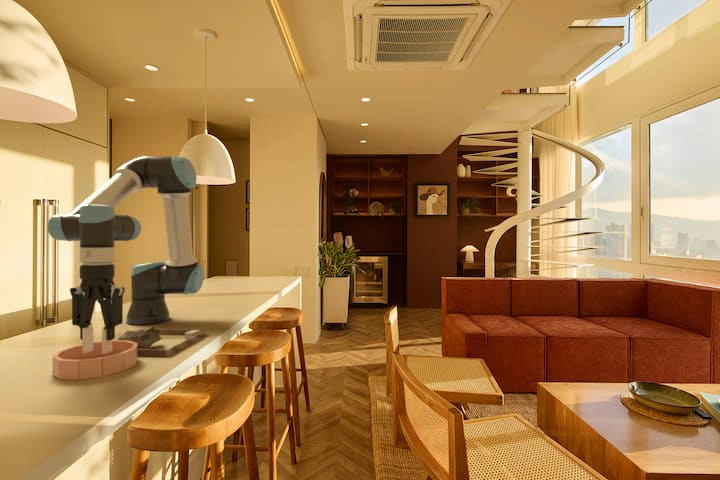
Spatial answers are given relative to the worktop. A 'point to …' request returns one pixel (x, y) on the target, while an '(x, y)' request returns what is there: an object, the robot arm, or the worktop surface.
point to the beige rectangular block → (191, 333)
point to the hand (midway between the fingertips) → (97, 351)
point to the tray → (175, 348)
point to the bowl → (94, 360)
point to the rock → (142, 337)
